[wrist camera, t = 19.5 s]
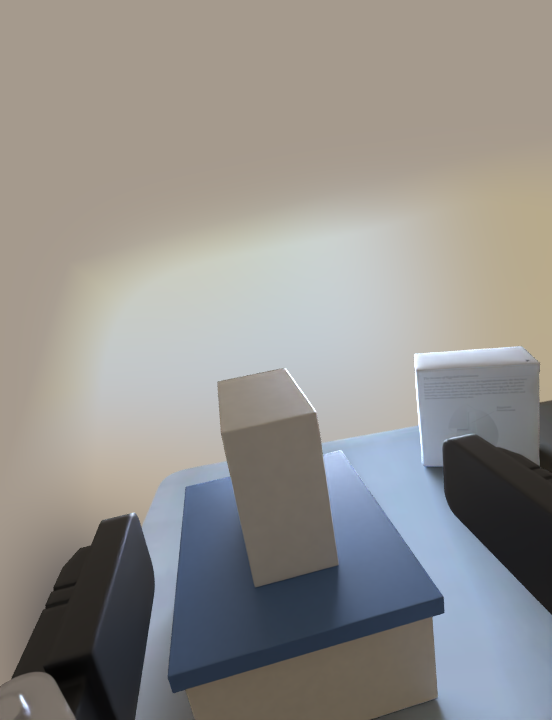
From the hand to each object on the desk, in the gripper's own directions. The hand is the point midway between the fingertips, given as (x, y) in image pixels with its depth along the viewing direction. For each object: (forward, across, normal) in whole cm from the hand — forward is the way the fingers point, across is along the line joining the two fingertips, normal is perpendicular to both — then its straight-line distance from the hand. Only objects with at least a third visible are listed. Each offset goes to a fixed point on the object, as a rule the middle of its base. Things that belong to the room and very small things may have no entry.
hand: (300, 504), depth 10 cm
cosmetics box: (+25, -22, +18) cm, 38 cm away
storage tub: (+12, 0, +17) cm, 21 cm away
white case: (+12, 0, +10) cm, 16 cm away
